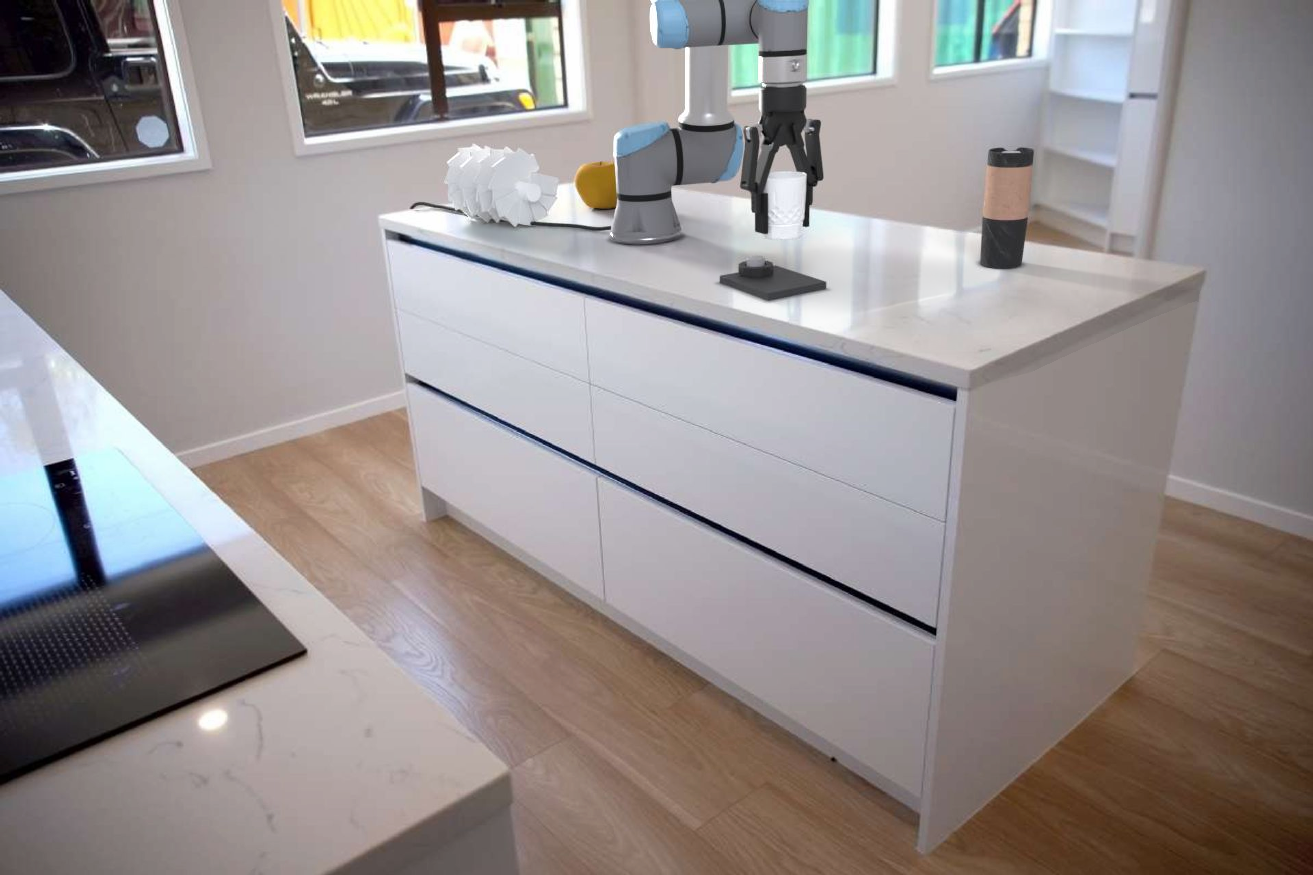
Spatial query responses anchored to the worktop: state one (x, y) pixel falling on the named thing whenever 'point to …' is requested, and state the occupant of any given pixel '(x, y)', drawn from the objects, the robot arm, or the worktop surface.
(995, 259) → the travel mug
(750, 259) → the button
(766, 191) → the white cup
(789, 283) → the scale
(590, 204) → the apple
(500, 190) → the spiral staircase
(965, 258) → the worktop surface
